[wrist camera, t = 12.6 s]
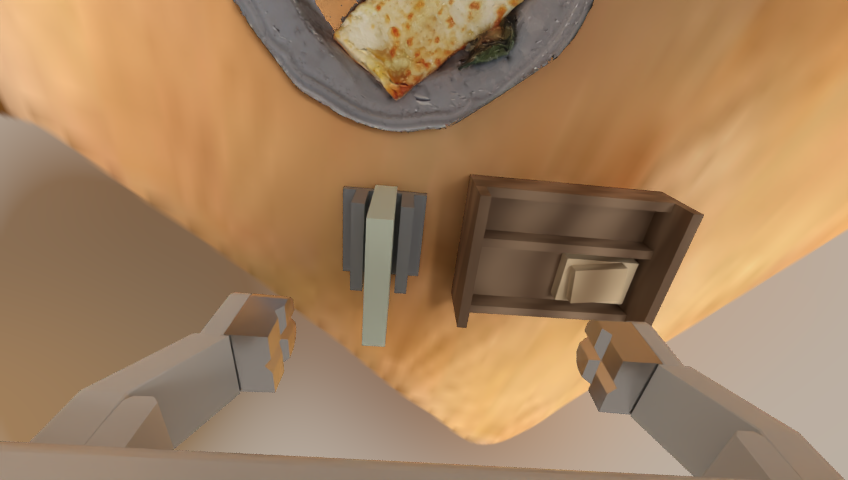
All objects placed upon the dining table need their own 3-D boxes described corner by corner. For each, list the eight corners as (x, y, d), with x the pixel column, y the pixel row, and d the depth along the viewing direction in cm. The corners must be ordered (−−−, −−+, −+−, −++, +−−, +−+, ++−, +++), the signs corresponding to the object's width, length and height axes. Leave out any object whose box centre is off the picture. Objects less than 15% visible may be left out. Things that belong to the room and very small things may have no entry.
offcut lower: (631, 257, 34) (638, 263, 33) (615, 296, 36) (622, 304, 35) (562, 251, 33) (567, 258, 32) (550, 292, 35) (554, 299, 34)
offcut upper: (621, 262, 33) (627, 268, 32) (614, 294, 34) (619, 300, 33) (571, 265, 32) (575, 271, 32) (566, 296, 34) (570, 303, 33)
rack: (661, 191, 32) (704, 214, 28) (616, 303, 38) (645, 338, 33) (470, 174, 31) (480, 195, 26) (451, 292, 36) (457, 327, 32)
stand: (426, 193, 32) (428, 209, 28) (417, 272, 35) (418, 294, 32) (344, 186, 31) (336, 201, 28) (343, 267, 35) (336, 289, 31)
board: (389, 295, 36) (384, 346, 29) (370, 294, 35) (362, 345, 29) (397, 186, 31) (393, 220, 24) (375, 184, 31) (366, 218, 24)
